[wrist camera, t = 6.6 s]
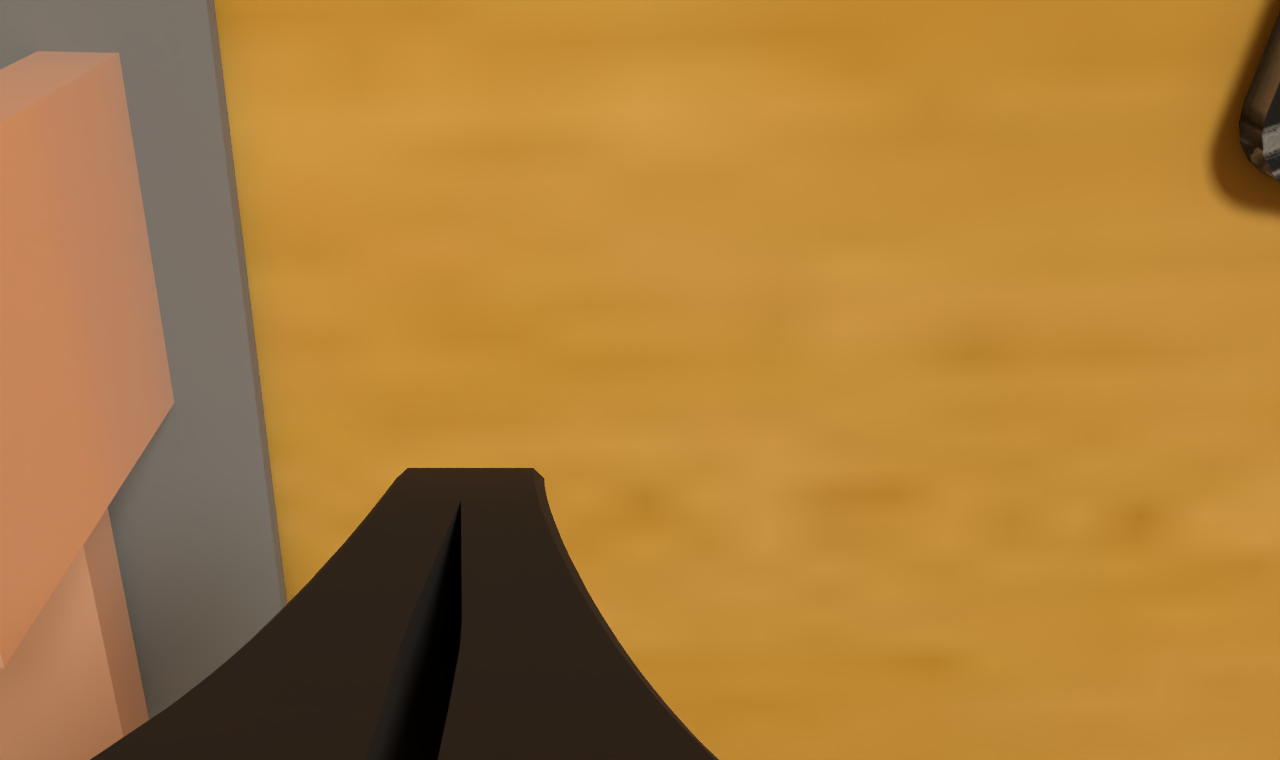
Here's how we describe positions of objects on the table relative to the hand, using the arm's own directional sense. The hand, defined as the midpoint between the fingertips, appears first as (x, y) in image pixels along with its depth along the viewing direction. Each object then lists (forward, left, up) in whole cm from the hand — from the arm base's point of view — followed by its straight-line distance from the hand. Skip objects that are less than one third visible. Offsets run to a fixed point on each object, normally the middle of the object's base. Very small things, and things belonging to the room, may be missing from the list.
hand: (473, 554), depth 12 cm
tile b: (0, +7, -9) cm, 11 cm away
